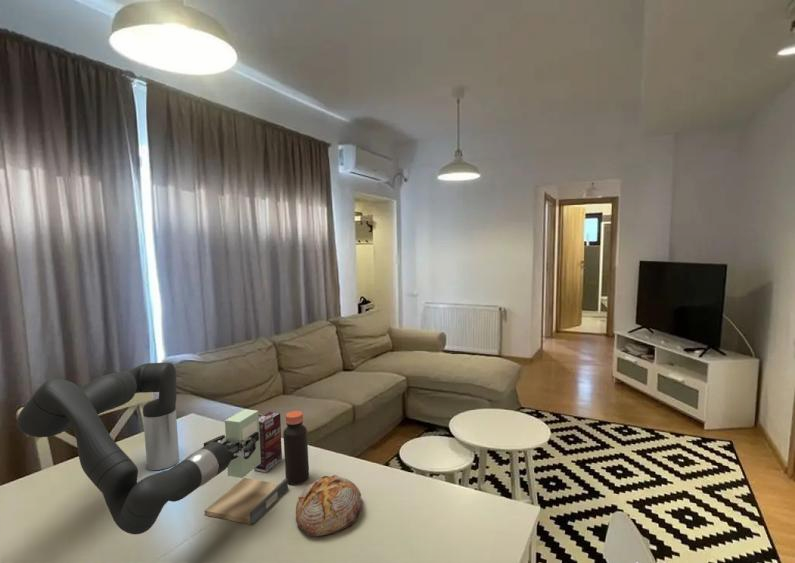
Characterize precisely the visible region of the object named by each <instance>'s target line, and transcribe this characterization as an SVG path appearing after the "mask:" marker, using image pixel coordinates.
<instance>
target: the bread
mask: <svg viewBox="0 0 795 563" xmlns="http://www.w3.org/2000/svg"><path fill="white" fill-rule="evenodd" d="M361 497H362V493H361V491H360V490H359V487H358V486H357V484H355V483H354V482H353V481H351V480H349V479H348V478H344V477H342V476H338V475H337V474H334V475H332V476H328V475H327V476H321V477H320V478H319V479H317V480H316V481H314V482H312V483H310V484H309V485H308V486H306V487H305V488H304V490H302V493H300V495H299V496H298V499H297V502H296V506H295V522H296V524H297V525H298V528H299V529H301V530H302V531H303V532H305V534H306V535H308V536H310V537H322V536H326V535H331V534H334V533H336V532H338V531H342V530H344V529H345V528H348V527H349V526H351V525H352V524H354V523H356V522H357V521H358V518H359V516H360V513H361V511H362V504H363V503H362V498H361Z"/></svg>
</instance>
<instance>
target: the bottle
mask: <svg viewBox="0 0 795 563" xmlns="http://www.w3.org/2000/svg"><path fill="white" fill-rule="evenodd" d="M285 422H286V423H285V424H286V425H287V426H286V428H284V430H283V434H282V436H283V451H284V453H283V454H284V470H285V472H284V473H285V479H288V485H291V486H297V485H301V484H304V483H306V482H307V481H308V480H309V478H310V468H309V465H310V464H309V447H308V446H309V444H308V429H307V428H306V426H305V425H304V424H303V423H304V413H303V412H302V411H301V410H294V411H289V412H287V413H286V414H285Z"/></svg>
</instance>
